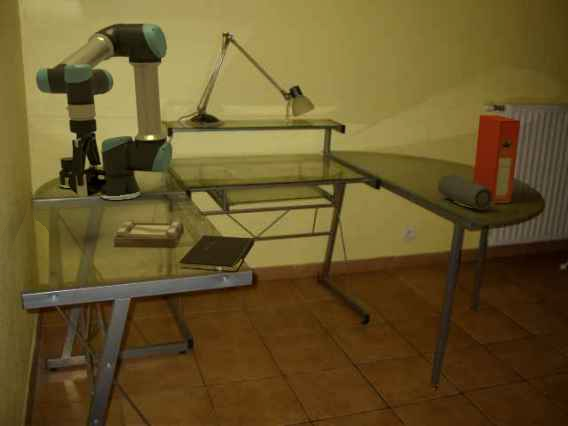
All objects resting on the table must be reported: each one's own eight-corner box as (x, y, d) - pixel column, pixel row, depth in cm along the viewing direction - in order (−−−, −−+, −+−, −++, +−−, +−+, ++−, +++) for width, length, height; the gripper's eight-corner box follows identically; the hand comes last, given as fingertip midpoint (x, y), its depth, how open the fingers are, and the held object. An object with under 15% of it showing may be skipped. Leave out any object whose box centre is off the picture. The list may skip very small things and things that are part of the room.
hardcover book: (179, 269, 158) (178, 262, 158) (203, 242, 180) (203, 235, 180) (236, 274, 156) (236, 266, 155) (254, 245, 178) (254, 238, 177)
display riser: (128, 229, 189) (127, 218, 188) (183, 230, 189) (183, 218, 188) (114, 246, 174) (113, 233, 173) (174, 247, 174) (174, 234, 173)
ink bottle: (69, 190, 236) (66, 161, 233) (55, 187, 241) (52, 159, 238) (88, 186, 244) (85, 157, 241) (74, 183, 249) (71, 155, 245)
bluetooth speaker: (492, 211, 214) (495, 185, 211) (471, 214, 211) (474, 187, 208) (455, 196, 235) (457, 172, 232) (435, 198, 232) (437, 173, 229)
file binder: (490, 204, 224) (500, 120, 215) (471, 193, 241) (479, 115, 232) (510, 203, 225) (521, 120, 216) (490, 192, 242) (499, 115, 233)
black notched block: (88, 187, 183) (86, 165, 181) (108, 188, 181) (106, 167, 179) (69, 195, 174) (66, 173, 172) (90, 197, 172) (88, 174, 170)
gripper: (83, 113, 182) (89, 181, 189) (54, 124, 160) (62, 201, 166) (106, 113, 182) (112, 181, 189) (81, 124, 160) (88, 201, 166)
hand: (89, 190), depth 177 cm, fingers closed on black notched block, 11 cm apart
